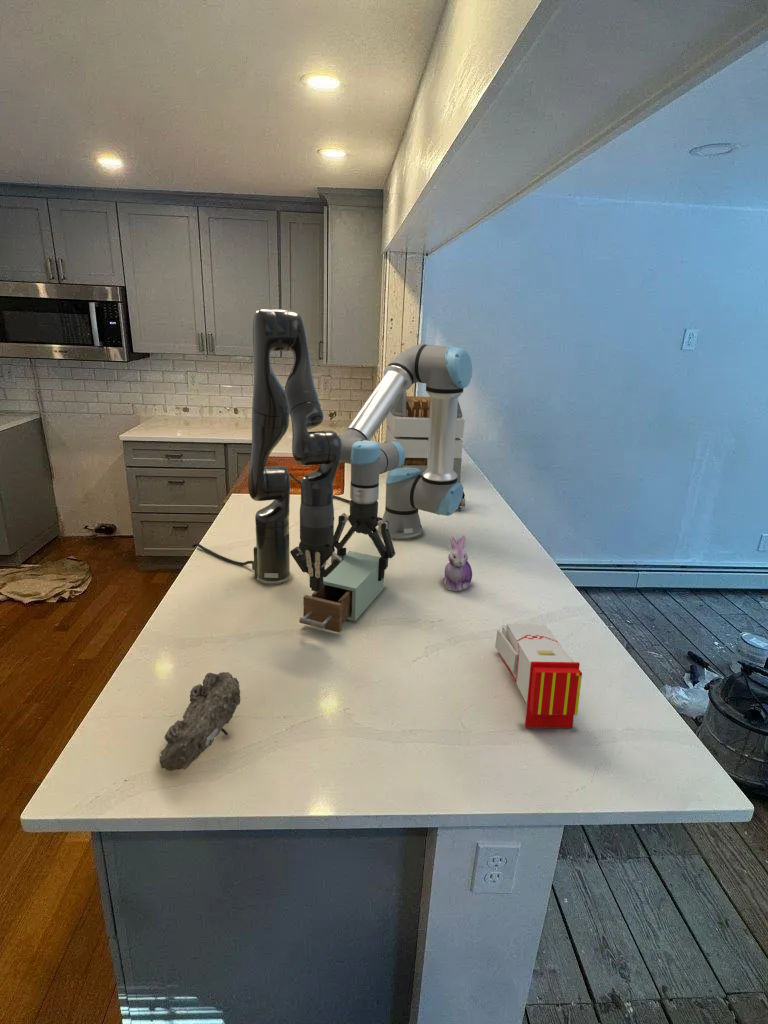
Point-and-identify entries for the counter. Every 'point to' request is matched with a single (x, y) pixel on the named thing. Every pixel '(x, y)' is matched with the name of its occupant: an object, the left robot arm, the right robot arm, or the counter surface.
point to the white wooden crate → (418, 430)
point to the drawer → (327, 608)
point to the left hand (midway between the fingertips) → (316, 589)
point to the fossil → (201, 720)
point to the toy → (541, 674)
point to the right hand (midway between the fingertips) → (361, 574)
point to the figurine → (457, 567)
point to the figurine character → (462, 502)
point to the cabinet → (357, 580)
